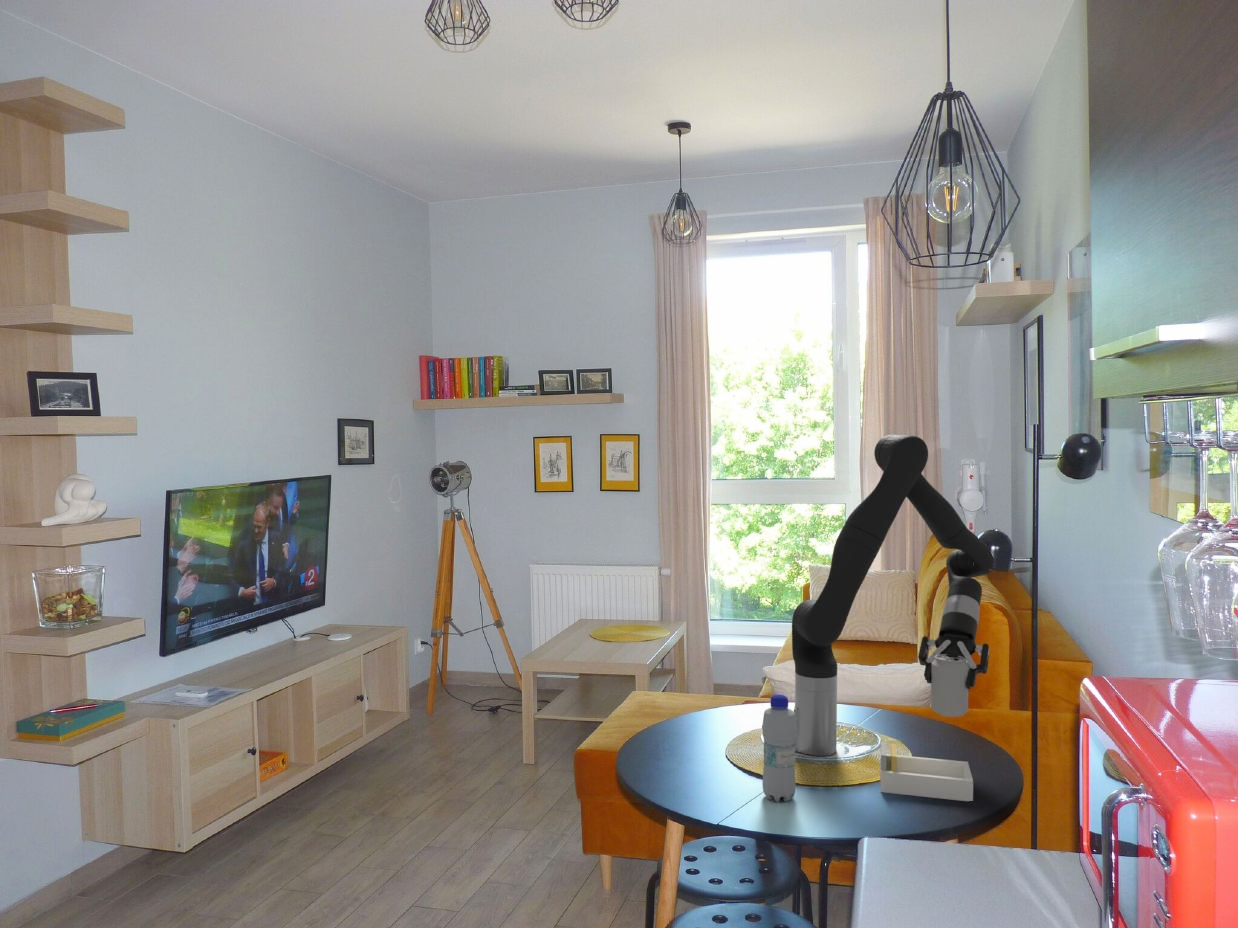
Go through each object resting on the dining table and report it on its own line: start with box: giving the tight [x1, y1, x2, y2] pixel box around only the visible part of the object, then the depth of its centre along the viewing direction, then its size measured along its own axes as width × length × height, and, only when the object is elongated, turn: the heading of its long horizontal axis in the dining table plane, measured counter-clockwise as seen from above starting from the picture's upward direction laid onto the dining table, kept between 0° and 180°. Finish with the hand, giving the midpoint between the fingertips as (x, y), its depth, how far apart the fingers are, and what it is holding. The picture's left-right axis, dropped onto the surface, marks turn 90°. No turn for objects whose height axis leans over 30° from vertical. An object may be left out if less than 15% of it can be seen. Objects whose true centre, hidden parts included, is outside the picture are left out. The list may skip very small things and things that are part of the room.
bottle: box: [761, 694, 797, 803], centre depth 175 cm, size 7×7×20 cm
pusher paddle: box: [890, 743, 898, 772], centre depth 182 cm, size 1×8×6 cm, turn 164°
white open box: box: [880, 740, 974, 802], centre depth 181 cm, size 17×11×7 cm, turn 74°
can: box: [930, 654, 969, 718], centre depth 192 cm, size 8×8×12 cm
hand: (948, 684), depth 190 cm, fingers closed on can, 7 cm apart
